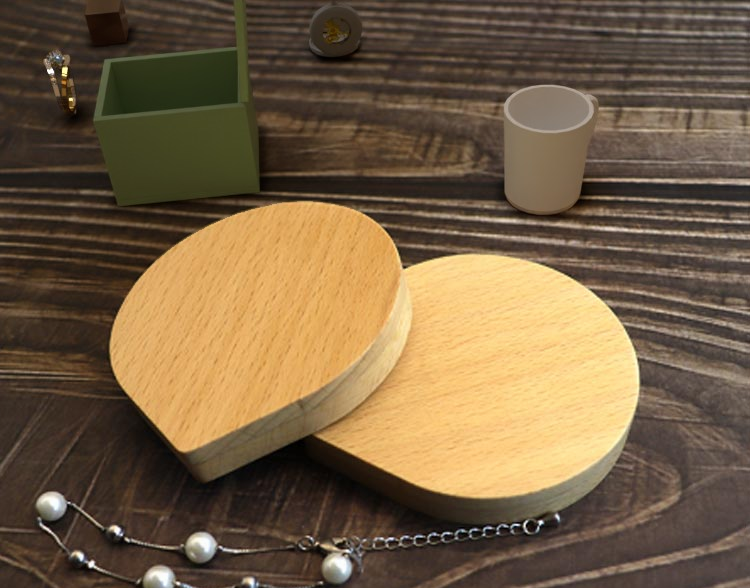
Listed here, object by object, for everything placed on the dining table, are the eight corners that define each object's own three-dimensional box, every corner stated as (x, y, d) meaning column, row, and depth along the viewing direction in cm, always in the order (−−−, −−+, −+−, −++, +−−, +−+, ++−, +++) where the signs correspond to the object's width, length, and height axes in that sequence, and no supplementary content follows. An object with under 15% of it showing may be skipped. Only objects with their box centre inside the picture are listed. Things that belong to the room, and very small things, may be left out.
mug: (535, 229, 105) (541, 143, 97) (483, 187, 110) (485, 103, 103) (616, 191, 108) (628, 106, 101) (562, 152, 114) (570, 69, 106)
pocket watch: (337, 29, 136) (330, -44, 129) (379, 50, 132) (375, -25, 124) (290, 52, 133) (281, -22, 125) (332, 75, 128) (325, -1, 121)
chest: (117, 206, 111) (92, 120, 103) (126, 142, 120) (104, 59, 112) (259, 192, 112) (245, 106, 104) (258, 129, 120) (245, 45, 113)
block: (93, 46, 137) (84, 14, 134) (96, 30, 140) (88, -1, 137) (126, 43, 137) (118, 11, 134) (129, 27, 140) (121, -5, 137)
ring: (65, 99, 128) (46, 40, 122) (90, 97, 128) (73, 38, 122) (55, 130, 123) (35, 70, 117) (81, 128, 123) (63, 68, 117)
